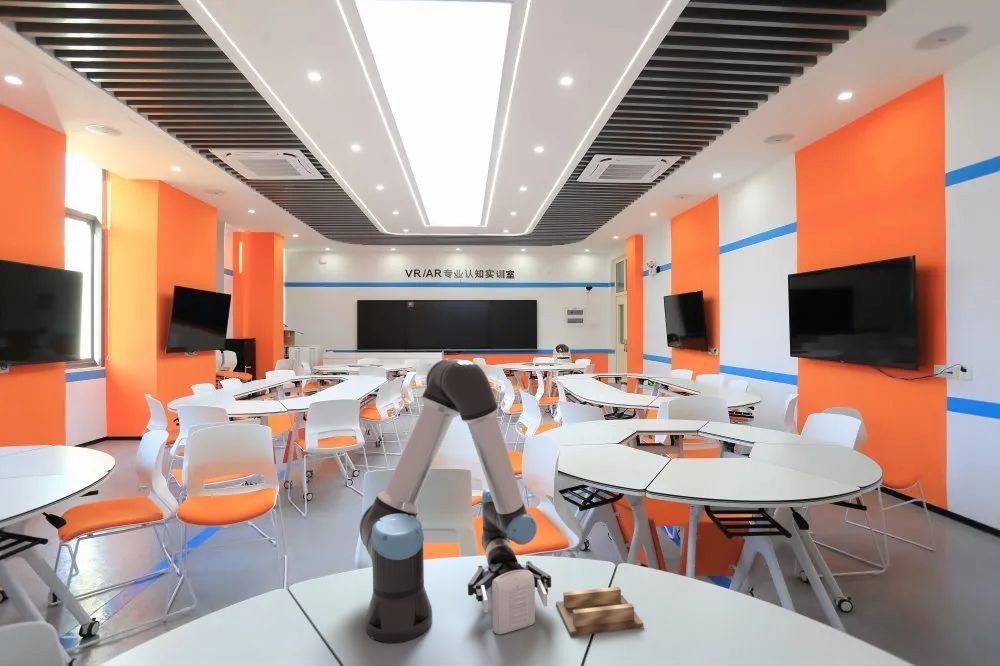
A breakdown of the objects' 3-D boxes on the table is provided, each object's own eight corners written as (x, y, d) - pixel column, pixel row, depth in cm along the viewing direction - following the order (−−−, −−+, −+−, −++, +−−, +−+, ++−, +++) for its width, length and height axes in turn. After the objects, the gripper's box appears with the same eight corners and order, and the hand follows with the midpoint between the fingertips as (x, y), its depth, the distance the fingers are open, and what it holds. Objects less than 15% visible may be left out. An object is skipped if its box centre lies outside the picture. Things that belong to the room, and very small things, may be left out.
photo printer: (528, 615, 115) (527, 562, 115) (538, 624, 112) (537, 570, 112) (489, 627, 111) (488, 573, 111) (497, 637, 107) (496, 581, 107)
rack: (570, 636, 107) (569, 617, 107) (556, 606, 119) (555, 589, 119) (643, 627, 109) (643, 609, 109) (622, 599, 121) (621, 583, 121)
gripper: (547, 569, 131) (570, 614, 110) (454, 578, 127) (460, 626, 106) (546, 541, 131) (569, 580, 110) (454, 549, 127) (459, 591, 106)
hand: (516, 603), depth 108 cm, fingers open, 13 cm apart
